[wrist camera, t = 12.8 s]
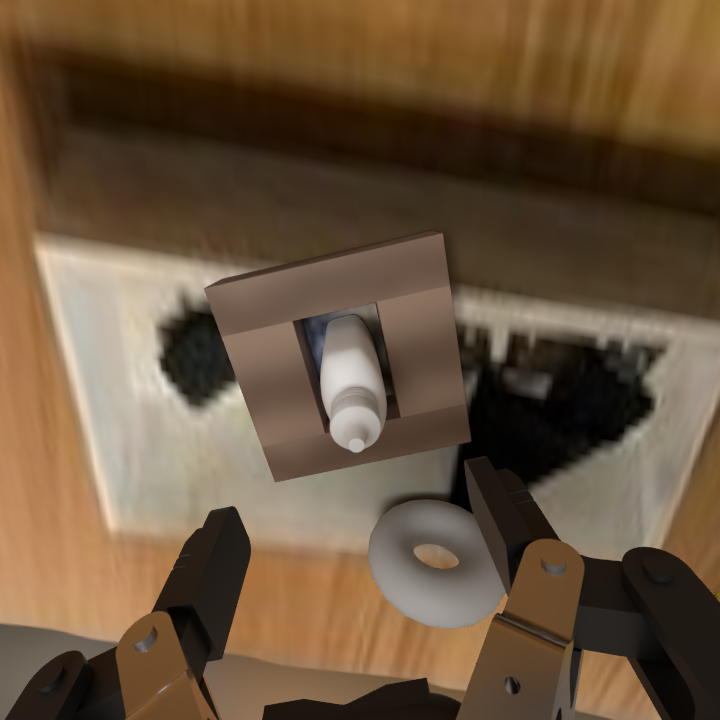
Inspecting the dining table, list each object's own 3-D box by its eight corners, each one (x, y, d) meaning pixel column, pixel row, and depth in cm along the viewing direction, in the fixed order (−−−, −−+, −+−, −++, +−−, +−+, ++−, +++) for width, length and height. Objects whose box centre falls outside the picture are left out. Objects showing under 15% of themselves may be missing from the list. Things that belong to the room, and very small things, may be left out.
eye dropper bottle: (313, 379, 28) (292, 487, 17) (332, 306, 27) (322, 375, 15) (369, 393, 29) (385, 506, 18) (392, 323, 27) (426, 400, 16)
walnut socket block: (221, 279, 26) (204, 288, 22) (429, 230, 25) (442, 233, 22) (282, 453, 31) (275, 482, 27) (457, 416, 30) (471, 441, 27)
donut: (363, 522, 33) (370, 642, 24) (365, 489, 32) (373, 602, 23) (477, 523, 34) (528, 640, 25) (483, 490, 33) (539, 601, 23)
